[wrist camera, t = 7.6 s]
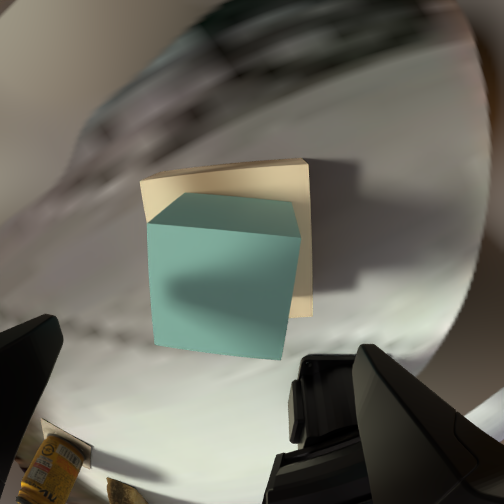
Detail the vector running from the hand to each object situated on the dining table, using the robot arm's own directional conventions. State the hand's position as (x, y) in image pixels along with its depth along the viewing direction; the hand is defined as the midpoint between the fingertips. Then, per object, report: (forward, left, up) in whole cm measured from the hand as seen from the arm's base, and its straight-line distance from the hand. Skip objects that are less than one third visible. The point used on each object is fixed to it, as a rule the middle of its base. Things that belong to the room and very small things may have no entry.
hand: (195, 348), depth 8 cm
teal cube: (0, 0, -8) cm, 8 cm away
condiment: (+22, +30, -11) cm, 39 cm away
